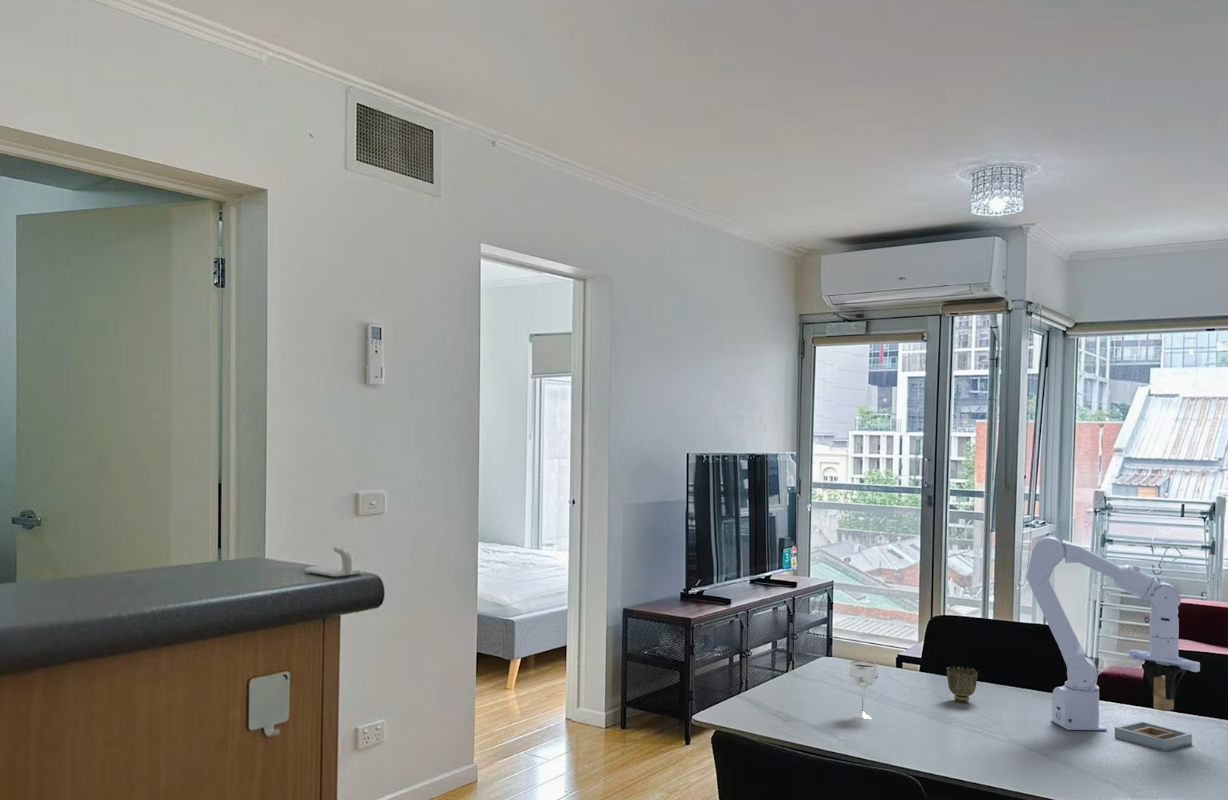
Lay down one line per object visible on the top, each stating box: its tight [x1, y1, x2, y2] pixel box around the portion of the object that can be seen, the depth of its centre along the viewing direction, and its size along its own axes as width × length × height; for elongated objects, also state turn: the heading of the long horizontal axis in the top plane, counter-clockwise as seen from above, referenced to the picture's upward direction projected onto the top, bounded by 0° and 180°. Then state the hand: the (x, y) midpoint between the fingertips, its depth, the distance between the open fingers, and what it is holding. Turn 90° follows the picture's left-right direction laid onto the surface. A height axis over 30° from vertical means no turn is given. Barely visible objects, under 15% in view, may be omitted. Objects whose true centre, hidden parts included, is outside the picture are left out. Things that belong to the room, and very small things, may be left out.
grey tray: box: [1114, 720, 1193, 752], centre depth 211 cm, size 11×11×2 cm
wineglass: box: [848, 660, 879, 719], centre depth 224 cm, size 7×7×12 cm
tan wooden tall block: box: [1153, 675, 1175, 712], centre depth 215 cm, size 2×4×7 cm, turn 123°
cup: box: [946, 666, 979, 704], centre depth 240 cm, size 8×7×8 cm
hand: (1163, 697), depth 214 cm, fingers closed on tan wooden tall block, 2 cm apart
